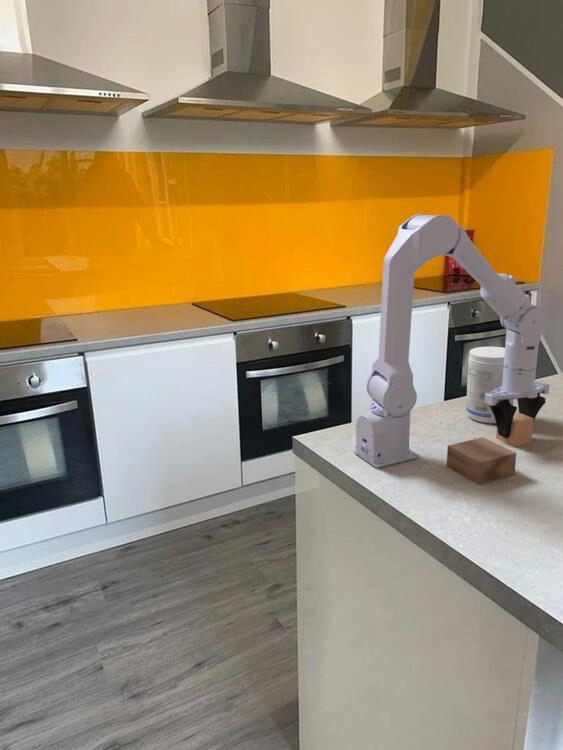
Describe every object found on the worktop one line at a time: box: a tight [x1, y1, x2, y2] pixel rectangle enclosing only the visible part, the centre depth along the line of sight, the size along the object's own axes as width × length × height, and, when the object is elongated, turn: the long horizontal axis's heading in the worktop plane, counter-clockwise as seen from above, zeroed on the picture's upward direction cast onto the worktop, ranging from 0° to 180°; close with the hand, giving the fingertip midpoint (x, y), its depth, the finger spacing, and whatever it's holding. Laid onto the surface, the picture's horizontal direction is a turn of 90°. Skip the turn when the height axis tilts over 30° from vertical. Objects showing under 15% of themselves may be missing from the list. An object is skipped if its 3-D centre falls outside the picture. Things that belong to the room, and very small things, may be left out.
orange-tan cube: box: [495, 411, 534, 448], centre depth 114 cm, size 5×5×5 cm
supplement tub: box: [465, 346, 514, 424], centre depth 125 cm, size 10×10×15 cm
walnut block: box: [446, 436, 517, 485], centre depth 102 cm, size 8×8×4 cm
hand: (513, 433), depth 114 cm, fingers open, 5 cm apart
